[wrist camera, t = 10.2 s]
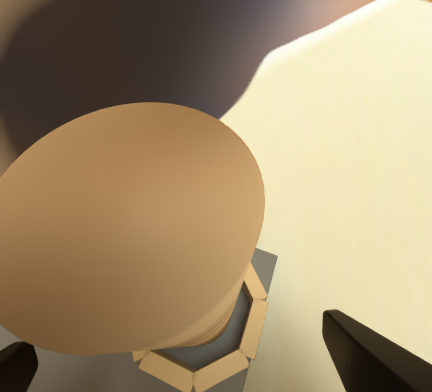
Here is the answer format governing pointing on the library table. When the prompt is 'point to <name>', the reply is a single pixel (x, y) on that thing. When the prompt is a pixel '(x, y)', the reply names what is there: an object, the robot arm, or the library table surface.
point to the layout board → (168, 353)
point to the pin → (128, 231)
